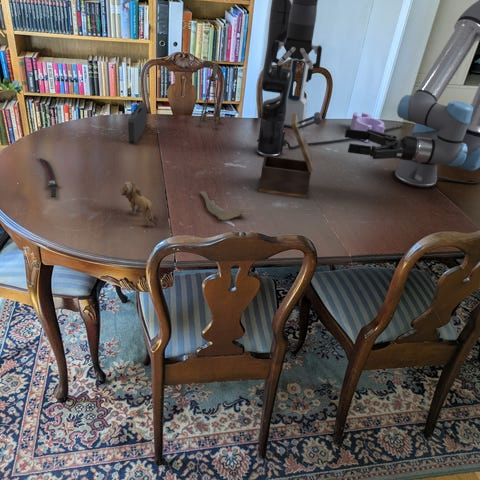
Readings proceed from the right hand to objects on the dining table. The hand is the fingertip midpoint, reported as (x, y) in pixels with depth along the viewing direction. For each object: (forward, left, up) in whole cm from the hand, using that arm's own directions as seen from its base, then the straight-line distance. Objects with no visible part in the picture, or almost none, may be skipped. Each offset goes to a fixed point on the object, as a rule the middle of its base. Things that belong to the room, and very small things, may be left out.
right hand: (347, 140), depth 149 cm
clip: (-44, -54, -20) cm, 72 cm away
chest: (+16, -8, -20) cm, 27 cm away
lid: (+13, -6, -3) cm, 15 cm away
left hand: (+18, -8, +17) cm, 26 cm away
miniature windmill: (+26, -71, -20) cm, 78 cm away
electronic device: (-13, -68, -20) cm, 72 cm away
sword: (+92, -25, -20) cm, 98 cm away
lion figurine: (+67, +4, -20) cm, 70 cm away
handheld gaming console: (+58, -62, -20) cm, 87 cm away
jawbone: (+40, +2, -20) cm, 45 cm away
